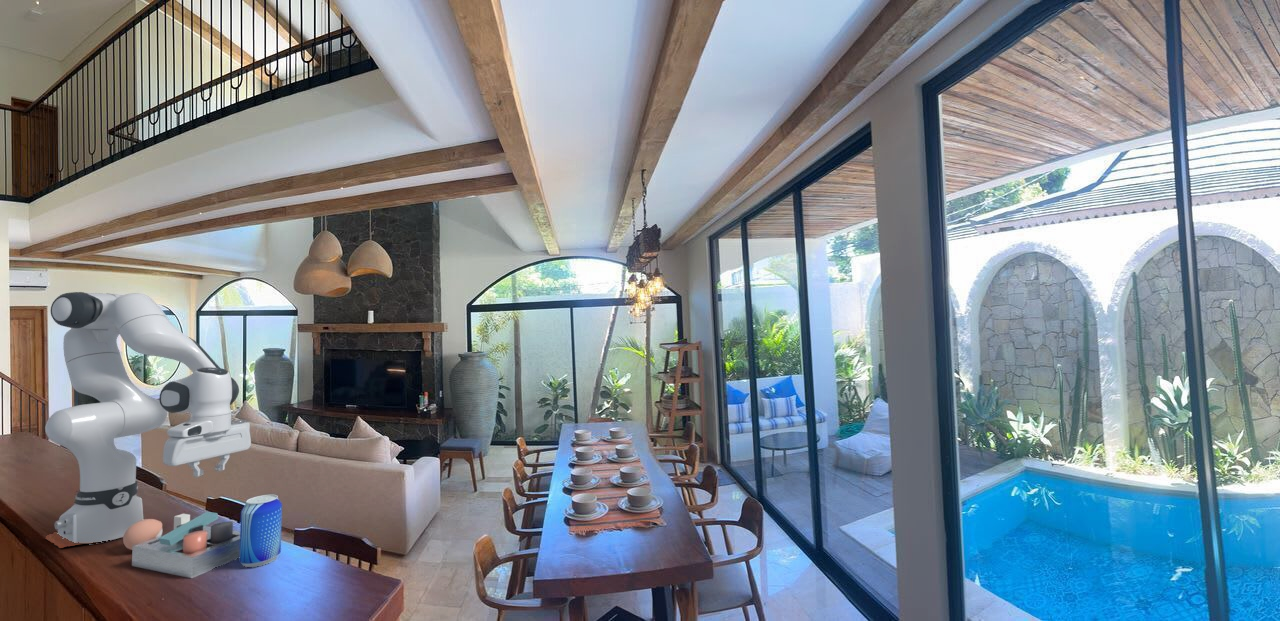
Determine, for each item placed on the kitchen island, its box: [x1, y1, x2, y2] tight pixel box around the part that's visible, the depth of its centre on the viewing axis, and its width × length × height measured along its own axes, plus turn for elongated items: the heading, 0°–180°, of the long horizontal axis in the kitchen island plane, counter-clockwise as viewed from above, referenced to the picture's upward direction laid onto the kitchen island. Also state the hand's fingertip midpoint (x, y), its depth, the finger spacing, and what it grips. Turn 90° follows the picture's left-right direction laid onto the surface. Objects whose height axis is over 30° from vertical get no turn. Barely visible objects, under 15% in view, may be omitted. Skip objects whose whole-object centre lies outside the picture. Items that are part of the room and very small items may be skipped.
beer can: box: [238, 494, 283, 568], centre depth 125 cm, size 8×8×16 cm
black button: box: [210, 521, 234, 544], centre depth 127 cm, size 4×4×6 cm
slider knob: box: [173, 513, 191, 530], centre depth 130 cm, size 3×2×4 cm
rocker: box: [159, 511, 220, 546], centre depth 126 cm, size 4×11×2 cm, turn 164°
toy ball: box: [122, 518, 164, 551], centre depth 131 cm, size 8×8×8 cm
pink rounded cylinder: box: [183, 531, 207, 555], centre depth 121 cm, size 4×4×6 cm
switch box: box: [131, 524, 240, 579], centre depth 126 cm, size 22×14×8 cm, turn 74°
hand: (209, 473), depth 137 cm, fingers open, 4 cm apart
